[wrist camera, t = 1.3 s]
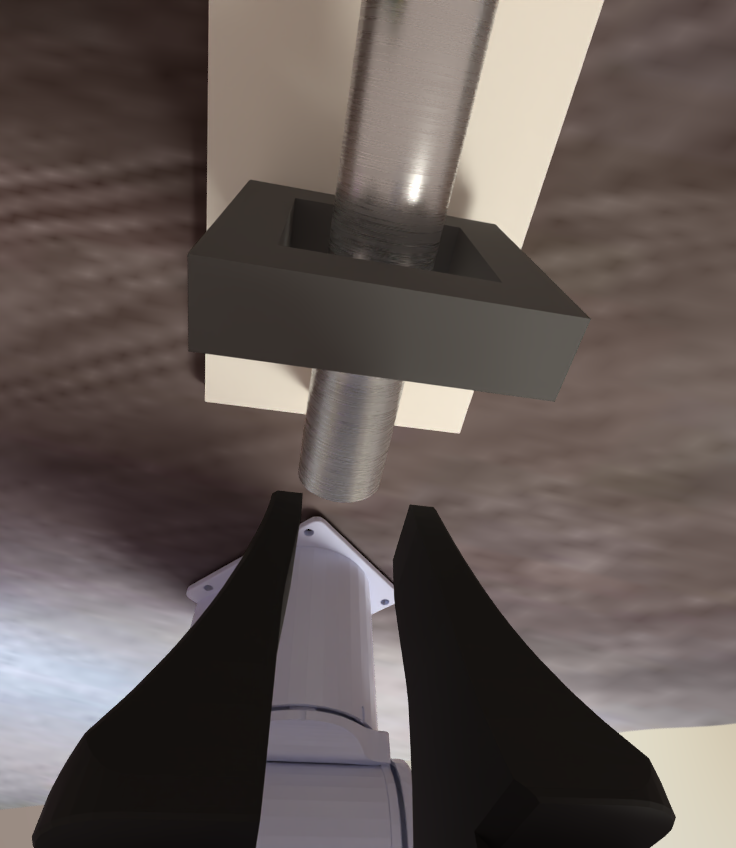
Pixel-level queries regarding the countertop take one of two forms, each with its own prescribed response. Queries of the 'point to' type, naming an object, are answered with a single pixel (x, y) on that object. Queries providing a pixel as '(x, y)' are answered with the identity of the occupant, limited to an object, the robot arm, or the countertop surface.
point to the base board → (323, 135)
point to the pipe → (392, 203)
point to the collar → (377, 301)
